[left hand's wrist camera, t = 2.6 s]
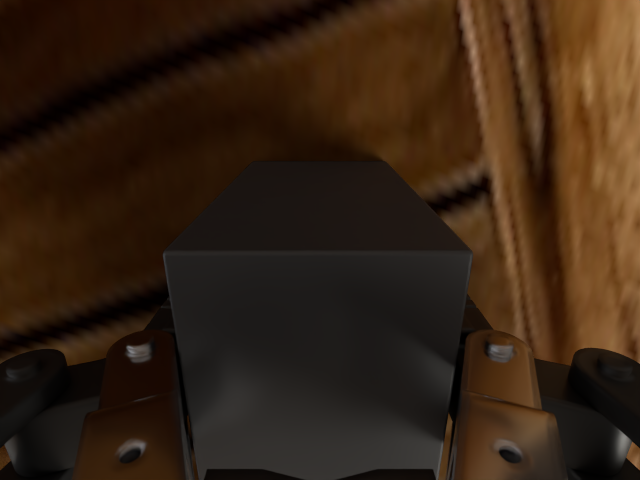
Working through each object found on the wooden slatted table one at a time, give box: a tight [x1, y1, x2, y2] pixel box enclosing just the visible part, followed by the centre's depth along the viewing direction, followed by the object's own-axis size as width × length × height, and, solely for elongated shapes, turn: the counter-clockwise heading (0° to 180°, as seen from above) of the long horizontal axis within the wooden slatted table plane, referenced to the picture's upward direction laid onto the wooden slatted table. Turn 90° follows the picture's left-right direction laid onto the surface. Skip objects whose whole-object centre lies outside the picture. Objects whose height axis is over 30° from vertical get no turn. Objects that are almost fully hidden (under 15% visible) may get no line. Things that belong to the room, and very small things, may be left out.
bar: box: [163, 161, 473, 480], centre depth 15 cm, size 23×5×9 cm, turn 0°
